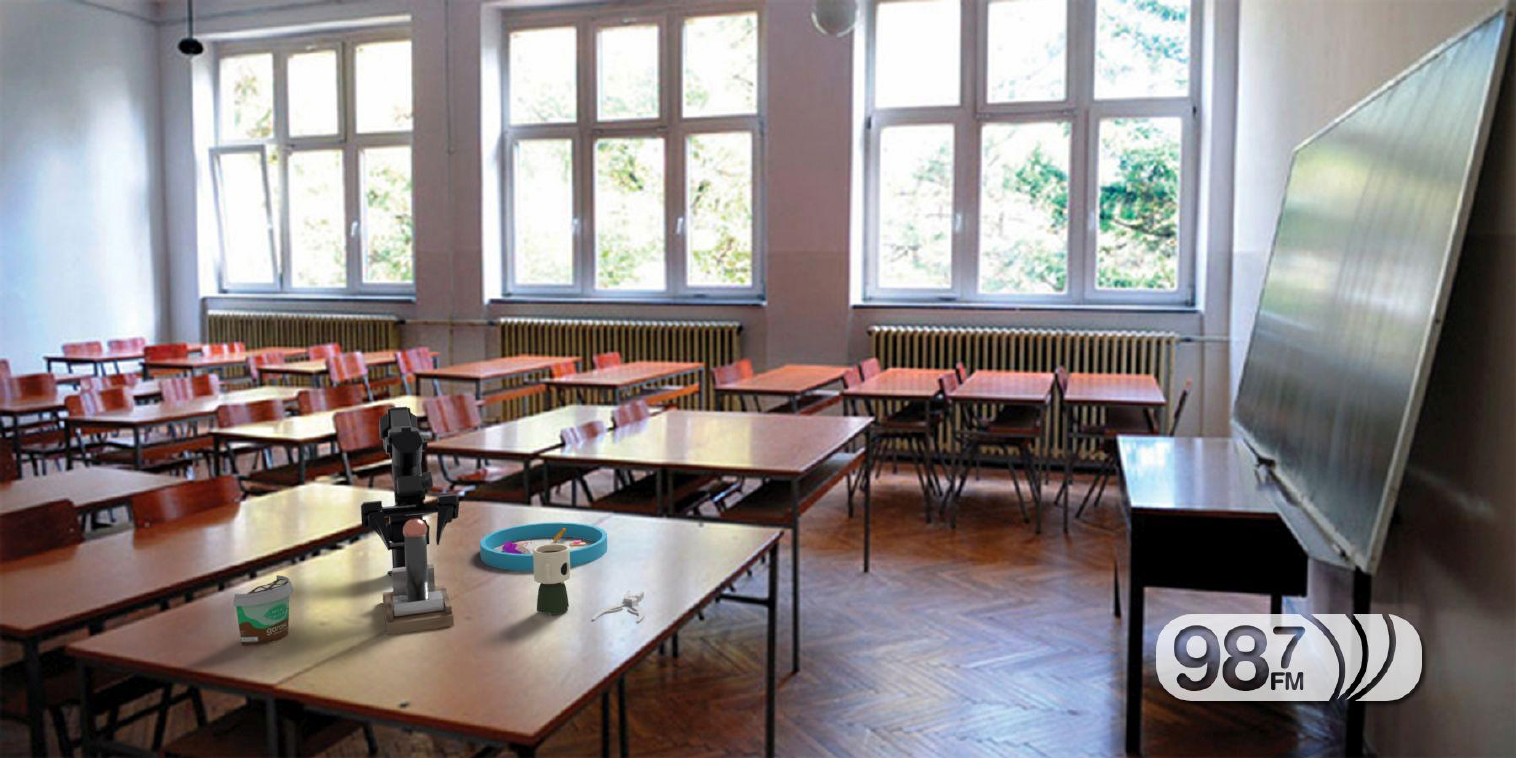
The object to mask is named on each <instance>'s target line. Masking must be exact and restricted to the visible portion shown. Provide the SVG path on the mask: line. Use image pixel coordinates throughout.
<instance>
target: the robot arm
mask: <svg viewBox="0 0 1516 758" xmlns="http://www.w3.org/2000/svg"><path fill="white" fill-rule="evenodd" d="M386 409H387V410H386V412H385V414H384V415H382V416H381V417H380V418H379V419H378V420H379V422H378V423H379V424H378V426H379V427H378V428H379V440H380V441H382V442H383V445H382V446H383V450H385V454H387V455H389V458H390V459H391V471H392V481H393V484H392V485H393V496H394V505H391V506H383V503H382V500H373V501H364V502H363V503H361V505H360V516H361V520H360V521H361V527H362V528H364V529H365V528H366V529H367V528H368V529H369V531H374V532H375V533H376V534H377V535H378V536H379V538H380V539H381V540H382V542H383V544H384V546H385V548H386V550H387V551H391V558H392V559H391V560H392V561H391V562H392V568H401V567H406V564H405V542H404V534H403V527H404V525H405V523H406V522H407V521H409V520H410V519H414V518H417V519H421V520H422V521H424V522H425V524H426V526H427V533H426V542H427V546H428V545H430V544H431V543H430V529H431V527H430V524H428V522H427V519H424V518H423V515H425V514H426V515H427V514H436V513H437V517H436V518H437V519H436V534H435V535H436V537H435V542H436V546H439V545H440V543H441V538H442V535H443V533H444V530H445V527H446V526H447V524H449V523H452V522H453V520H456V519H457V518H459V513H460V512H459V510H460V500H459V499H460V498H459V496H458V495H457V494H456V493H454V494H452V493H451V494H442V495H441V494H439V495H437V502H430V503H428V502H427V503H426V502H425V501H426V490H432V489H433V486H434V484H433V483H434V479H433V474H432V473H433V472H432V471H425V472H422V465H421V463H422V457H423V452H425V450H426V448H429V447H428V446H429V445H428V441H427V440H426V438H424V437H425V436H424V434H420V433H421V432H420V429H419V428H418V417H417V415H415V414H413V412H412V411H411V407H407V406H397V407H396V406H394V407H390V408H386ZM386 517H389V519H388V520H389V522H386ZM386 573H387V575H390V576H392V569H391V570H389V571H387V572H386Z"/></svg>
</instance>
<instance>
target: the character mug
mask: <svg viewBox="0 0 1516 758" xmlns="http://www.w3.org/2000/svg"><path fill="white" fill-rule="evenodd" d="M569 551H570V546H569V545H566V544H562V543H547V544H542V545H538V546H535V547H534V548H533V549H532V554H533V563H534V571H533V579H534V580H533V581H534V582H536V583H538V584H539V586H538V592H537V599H536V611H537V612H538V613H542V614H550V615H551V616H552V615H554V614H556V615H558V614H562V613H565V612H567V611H569V608H570V605H569V604H570V603H569V597H568V591H567V586H566V584H565V581H567V580H570V578H571V567H570V552H569Z"/></svg>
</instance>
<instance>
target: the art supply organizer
mask: <svg viewBox="0 0 1516 758" xmlns="http://www.w3.org/2000/svg"><path fill="white" fill-rule="evenodd" d="M537 538H552V539H550V541H551V542H555V543H556V542H558V540H560V538H574V539H575V538H577V539H579V540H571V542H570V543H569V545H570V546H571V547H578V546H579V547H580V548H577V549H571V550H570V549H569V552H570V568H572V567H577V566H581V565H585V564H587V563H591V562H594V561H596V560H598V559H601V558H602V557H603V556H605V554H606V553H607V552H608V533H607V532H606V531H605V530H604V529H603V528H600V527H598V526H595V525H590V524H587V523H578V522H561V521H559V522H556V521H554V522H538V523H528V524H527V523H526V524H522V525H516V526H510V527H507V528H502V529H500V530H496V531H493V532H491V533H488V534H486V535H485V536H484V537H482V538H481V540H480V541H479V549H480V552H479V553H480V554H479V555H480V559H481V561H482V562H483V563H485V564H487V566H490V567H494V568H498V569H501V570H502V569H503V570H504V569H505V570H509V571H524V572H530V571H532V572H534V563H533V552H532V553H531V550H530V549H529V548H526V547H527V546H528V545H529V543H530V544H532V542H530V539H537ZM581 539H585V540H587V541H592V542H594V543H592V544H590V545H587V543H586V542H582V540H581ZM523 540H524V541H523ZM513 542H515V543H513ZM502 545H503V546H502ZM524 545H525V546H526V547H525V546H524ZM586 545H587V546H586ZM499 546H501V547H500V549H501V551H499V550H496V549H495V548H497V547H499ZM581 546H583V547H581Z"/></svg>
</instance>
